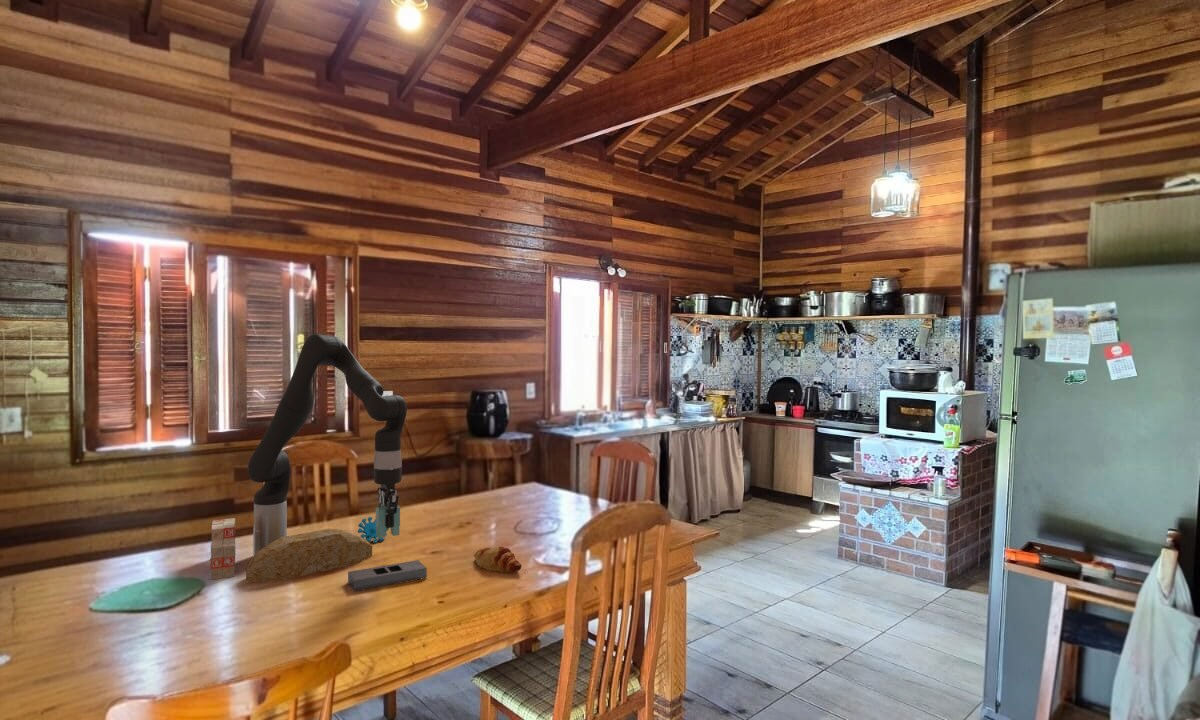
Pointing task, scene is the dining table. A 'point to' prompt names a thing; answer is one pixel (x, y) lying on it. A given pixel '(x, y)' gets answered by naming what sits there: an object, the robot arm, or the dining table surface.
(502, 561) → the croissant
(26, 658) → the dining table surface
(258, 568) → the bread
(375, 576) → the rail
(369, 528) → the gear
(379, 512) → the teal block
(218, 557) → the stack of blocks
